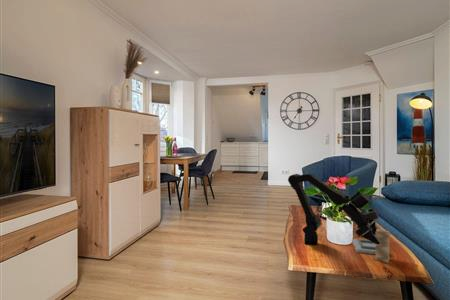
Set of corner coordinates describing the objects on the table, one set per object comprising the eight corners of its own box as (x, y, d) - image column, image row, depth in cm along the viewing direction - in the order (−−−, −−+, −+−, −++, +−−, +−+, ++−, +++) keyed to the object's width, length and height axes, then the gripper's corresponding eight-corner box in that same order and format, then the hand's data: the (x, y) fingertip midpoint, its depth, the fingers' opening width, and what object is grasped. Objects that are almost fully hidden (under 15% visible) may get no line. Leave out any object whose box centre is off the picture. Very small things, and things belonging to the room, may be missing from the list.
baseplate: (357, 252, 125) (357, 247, 125) (352, 241, 138) (352, 237, 138) (389, 255, 121) (389, 250, 120) (381, 244, 134) (381, 239, 134)
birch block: (375, 259, 117) (375, 232, 117) (376, 255, 121) (377, 229, 120) (388, 262, 114) (388, 234, 113) (389, 258, 118) (389, 231, 117)
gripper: (363, 208, 113) (393, 237, 107) (370, 200, 128) (396, 225, 121) (345, 222, 118) (372, 251, 112) (353, 213, 133) (377, 238, 126)
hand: (380, 240), depth 118 cm, fingers open, 9 cm apart
